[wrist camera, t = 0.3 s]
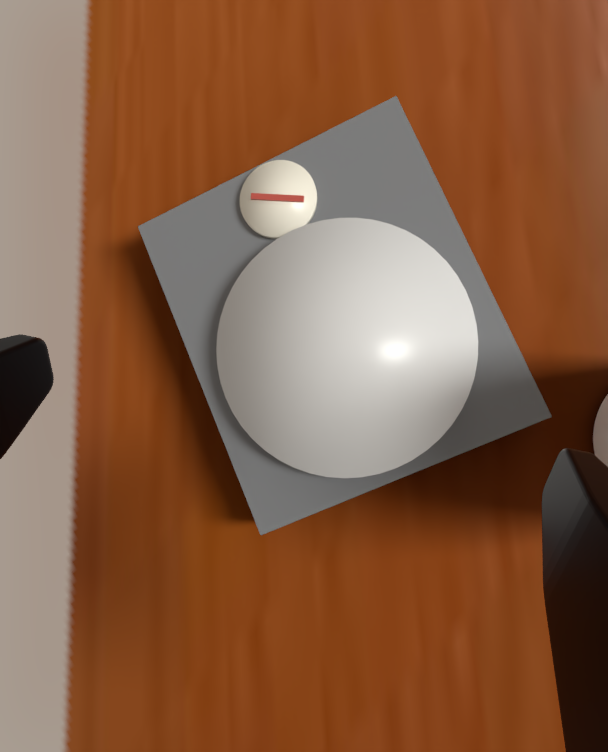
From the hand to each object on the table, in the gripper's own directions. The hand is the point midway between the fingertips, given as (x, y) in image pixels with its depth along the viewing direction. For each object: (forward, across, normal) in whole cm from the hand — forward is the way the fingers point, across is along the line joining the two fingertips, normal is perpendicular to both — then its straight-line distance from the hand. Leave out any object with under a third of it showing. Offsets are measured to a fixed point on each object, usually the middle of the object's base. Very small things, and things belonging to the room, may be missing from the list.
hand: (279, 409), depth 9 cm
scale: (+14, +1, +5) cm, 15 cm away
